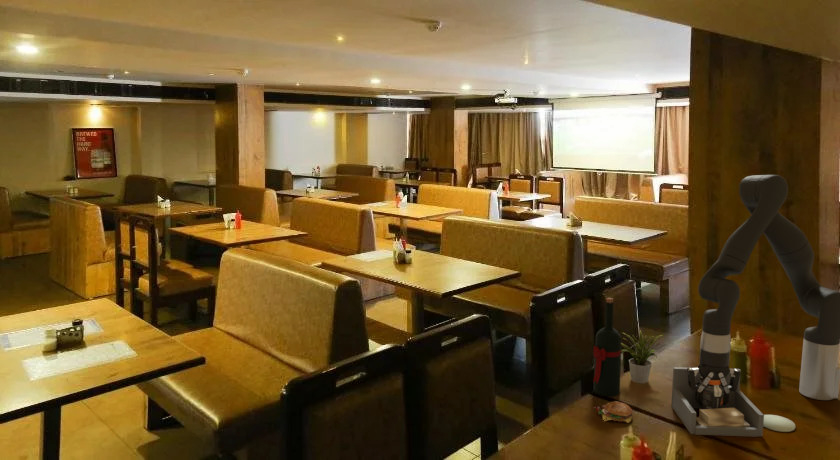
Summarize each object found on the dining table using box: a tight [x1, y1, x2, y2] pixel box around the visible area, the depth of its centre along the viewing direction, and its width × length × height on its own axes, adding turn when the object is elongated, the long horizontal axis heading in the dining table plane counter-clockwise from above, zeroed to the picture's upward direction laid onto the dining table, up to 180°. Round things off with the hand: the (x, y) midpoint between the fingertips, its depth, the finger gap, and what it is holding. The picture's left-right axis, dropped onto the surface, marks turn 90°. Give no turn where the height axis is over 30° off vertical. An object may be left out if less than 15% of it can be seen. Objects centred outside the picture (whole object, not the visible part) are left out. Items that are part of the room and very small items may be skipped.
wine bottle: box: [592, 297, 622, 397], centre depth 191 cm, size 8×10×30 cm
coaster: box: [763, 414, 796, 433], centre depth 171 cm, size 9×9×1 cm
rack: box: [671, 366, 765, 438], centre depth 173 cm, size 18×18×12 cm
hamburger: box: [593, 400, 634, 424], centre depth 178 cm, size 14×14×6 cm
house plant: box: [621, 329, 664, 384], centre depth 202 cm, size 14×14×16 cm
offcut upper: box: [698, 408, 744, 426], centre depth 169 cm, size 10×5×2 cm, turn 95°
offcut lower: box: [696, 416, 750, 427], centre depth 170 cm, size 13×5×2 cm, turn 90°
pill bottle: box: [699, 380, 724, 410], centre depth 176 cm, size 6×6×11 cm
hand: (711, 403), depth 176 cm, fingers closed on pill bottle, 6 cm apart
